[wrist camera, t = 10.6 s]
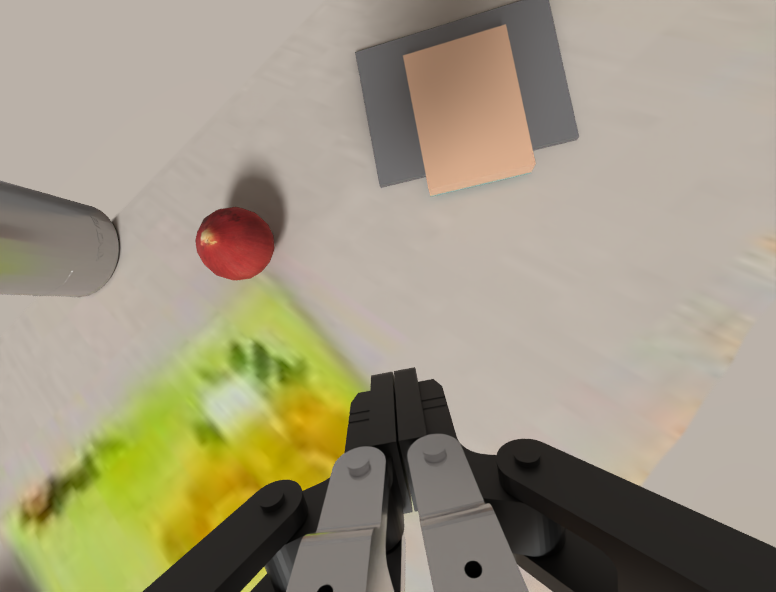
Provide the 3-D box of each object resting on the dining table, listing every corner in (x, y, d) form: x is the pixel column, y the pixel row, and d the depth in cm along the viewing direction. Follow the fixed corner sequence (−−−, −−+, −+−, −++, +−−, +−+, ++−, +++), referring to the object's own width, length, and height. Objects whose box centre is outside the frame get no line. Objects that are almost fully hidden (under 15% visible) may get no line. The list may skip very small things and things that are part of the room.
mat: (381, 187, 33) (379, 185, 33) (357, 56, 34) (355, 52, 33) (576, 139, 30) (579, 136, 30) (545, -2, 31) (547, -8, 31)
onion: (221, 239, 36) (154, 219, 28) (271, 207, 35) (217, 177, 27) (247, 294, 35) (186, 289, 27) (300, 262, 34) (252, 248, 26)
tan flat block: (428, 189, 30) (402, 55, 31) (430, 196, 32) (406, 71, 33) (535, 163, 28) (505, 24, 29) (530, 173, 30) (502, 42, 31)
